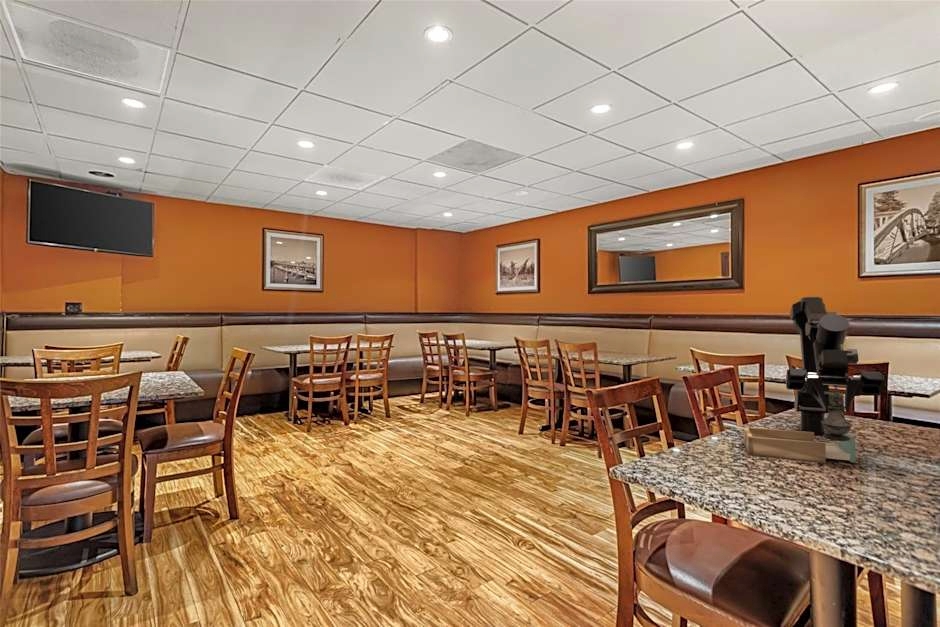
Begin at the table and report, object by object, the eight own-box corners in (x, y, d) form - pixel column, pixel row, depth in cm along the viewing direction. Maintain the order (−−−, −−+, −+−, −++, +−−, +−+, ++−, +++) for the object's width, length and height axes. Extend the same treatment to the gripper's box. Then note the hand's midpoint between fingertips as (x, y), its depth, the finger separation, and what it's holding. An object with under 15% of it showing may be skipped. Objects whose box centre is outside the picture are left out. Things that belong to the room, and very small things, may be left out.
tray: (771, 445, 127) (771, 423, 127) (843, 452, 121) (843, 428, 121) (777, 455, 119) (777, 431, 119) (855, 462, 113) (855, 437, 113)
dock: (743, 443, 131) (743, 426, 131) (813, 449, 125) (813, 432, 125) (748, 454, 121) (748, 437, 121) (825, 462, 114) (825, 443, 114)
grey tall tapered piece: (817, 437, 112) (817, 387, 112) (824, 433, 116) (824, 384, 116) (848, 443, 108) (848, 390, 108) (855, 437, 112) (854, 387, 111)
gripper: (786, 336, 119) (791, 387, 110) (883, 337, 110) (897, 393, 101) (784, 363, 126) (788, 413, 117) (874, 367, 117) (886, 422, 108)
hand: (837, 410), depth 111 cm, fingers closed on grey tall tapered piece, 4 cm apart
